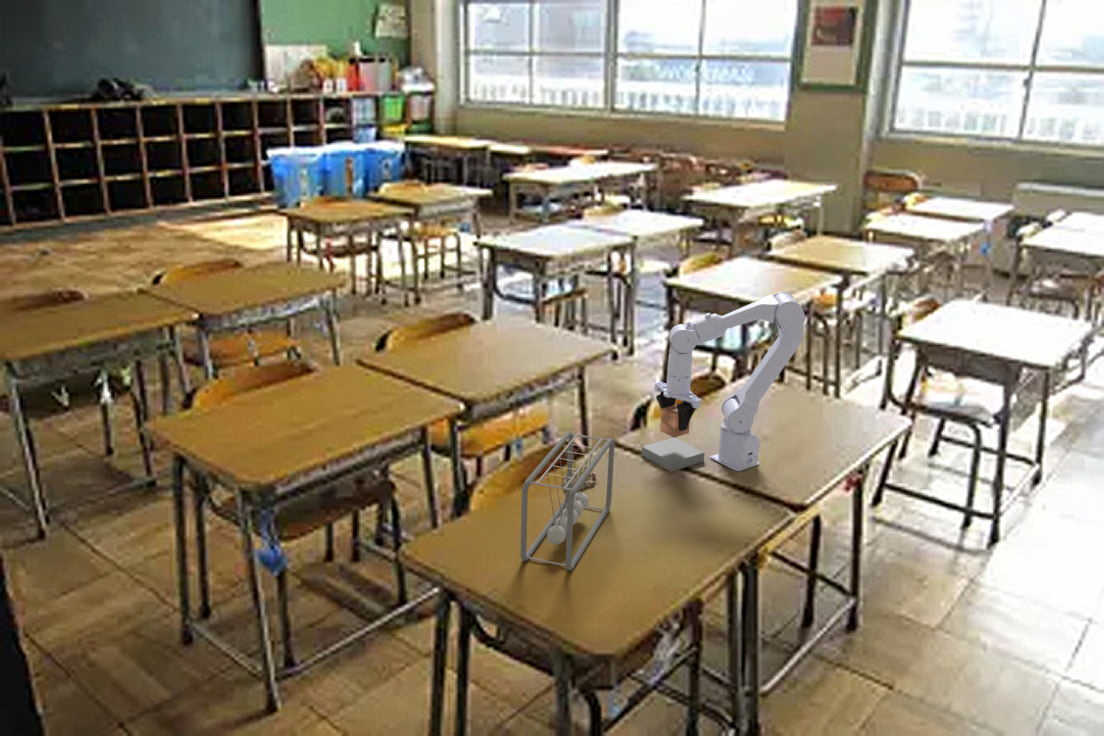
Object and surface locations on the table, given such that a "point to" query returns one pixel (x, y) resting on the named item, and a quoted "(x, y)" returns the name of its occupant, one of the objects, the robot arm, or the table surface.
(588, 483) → the mineral rock
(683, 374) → the robot arm
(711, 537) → the table surface
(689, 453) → the gray plinth
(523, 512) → the newton's cradle
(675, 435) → the terracotta cube
